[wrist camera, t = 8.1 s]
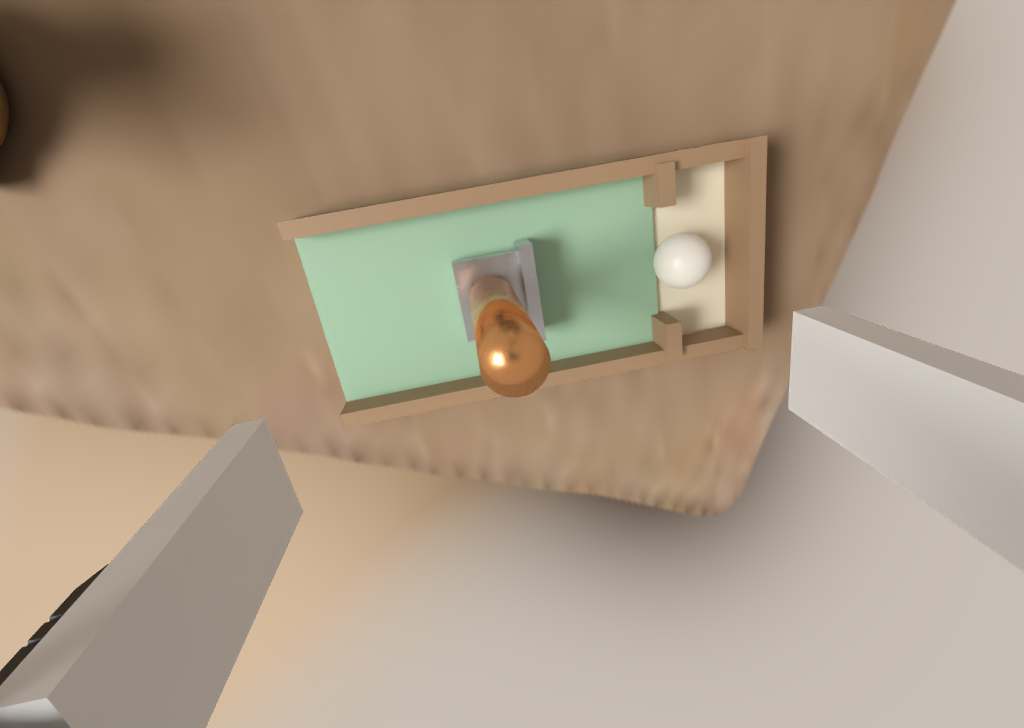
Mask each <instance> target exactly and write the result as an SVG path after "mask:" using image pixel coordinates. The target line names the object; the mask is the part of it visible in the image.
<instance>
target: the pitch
mask: <svg viewBox="0 0 1024 728" xmlns="http://www.w3.org/2000/svg"><path fill="white" fill-rule="evenodd" d="M766 178H767V135H764V136H758V137H752V138H746V139H740V140H734V141H728V142H722V143H717V144H711V145H706V146H700V147H694V148H689V149H683V150H678V151H672V152H667V153H661V154H655V155H650V156H644V157H639V158H633V159H627V160H622V161H616V162H611V163H605V164H599V165H594V166H588V167H583V168H577V169H571V170H566V171H560V172H555V173H549V174H543V175H538V176H532V177H527V178H521V179H515V180H510V181H504V182H499V183H493V184H488V185H482V186H476V187H471V188H465V189H460V190H454V191H448V192H443V193H437V194H432V195H426V196H420V197H415V198H409V199H404V200H398V201H392V202H387V203H381V204H376V205H370V206H364V207H359V208H353V209H348V210H342V211H336V212H331V213H325V214H320V215H314V216H309V217H303V218H297V219H292V220H287V221H282V222H278V223H277V225H278V228H279V231H280V234H281V237H282V240H283V241H286V240H291V239H295V242H296V246H297V249H298V252H299V255H300V258H301V261H302V264H303V267H304V271H305V274H306V277H307V280H308V283H309V286H310V289H311V292H312V295H313V299H314V302H315V305H316V308H317V311H318V314H319V317H320V320H321V323H322V327H323V330H324V333H325V336H326V339H327V342H328V345H329V348H330V352H331V355H332V358H333V361H334V364H335V367H336V370H337V373H338V376H339V380H340V383H341V386H342V389H343V392H344V395H345V398H346V401H347V402H346V404H345V406H344V408H343V410H342V412H341V414H340V416H341V419H342V422H343V425H344V428H349V427H354V426H359V425H364V424H369V423H374V422H379V421H384V420H389V419H394V418H399V417H404V416H409V415H414V414H419V413H424V412H429V411H434V410H439V409H444V408H449V407H454V406H459V405H464V404H469V403H474V402H479V401H484V400H489V399H494V398H499V397H504V396H502V395H499V394H497V393H495V392H494V391H492V390H491V389H490V388H489V387H488V386H487V385H486V384H485V382H484V381H483V379H482V376H481V373H480V369H479V362H478V355H477V348H476V341H470V342H468V339H467V334H466V329H465V324H464V319H463V315H462V310H461V305H460V300H459V296H458V291H457V286H456V281H455V277H454V272H453V267H452V261H454V260H459V259H464V258H470V257H475V256H480V255H486V254H491V253H497V252H502V251H507V250H513V249H515V247H514V241H516V240H522V239H527V240H529V241H530V242H531V243H532V246H533V253H534V260H535V267H536V273H537V280H538V287H539V294H540V301H541V307H542V314H543V321H544V328H545V334H546V341H544V343H545V344H546V346H547V348H548V350H549V353H550V357H551V367H550V371H549V374H548V376H547V378H546V380H545V381H544V383H543V384H542V385H541V386H540V387H539V388H538V389H537V390H539V389H544V388H549V387H554V386H559V385H564V384H568V383H573V382H578V381H583V380H588V379H593V378H598V377H603V376H608V375H613V374H618V373H623V372H628V371H633V370H638V369H643V368H648V367H653V366H658V365H663V364H668V363H673V362H678V361H683V360H688V359H693V358H698V357H703V356H708V355H713V354H718V353H723V352H728V351H733V350H738V349H743V348H744V349H746V350H748V351H749V350H754V349H759V348H763V310H764V266H765V222H766ZM677 233H692V234H695V235H697V236H699V237H701V238H702V239H703V240H704V241H705V242H706V243H707V244H708V246H709V248H710V250H711V254H712V264H711V268H710V270H709V272H708V274H707V276H706V277H705V278H704V279H703V280H702V281H701V282H700V283H698V284H697V285H695V286H693V287H690V288H686V289H675V288H671V287H669V286H667V285H665V284H664V283H662V282H661V281H660V279H659V278H658V277H657V275H656V273H655V270H654V265H653V261H654V255H655V252H656V250H657V248H658V247H659V245H660V244H661V243H662V242H663V241H664V240H665V239H666V238H668V237H670V236H672V235H674V234H677Z"/></svg>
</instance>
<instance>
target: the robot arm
mask: <svg viewBox="0 0 1024 728" xmlns="http://www.w3.org/2000/svg"><path fill="white" fill-rule="evenodd" d="M788 409H789V410H791V411H792V412H794V413H795V414H797V415H798V416H799V417H801V418H803V419H804V420H805V421H807V422H808V423H810V424H811V425H812V426H814V427H815V428H817V429H818V430H820V431H821V432H822V433H824V434H825V435H827V436H828V437H830V438H831V439H832V440H834V441H835V442H837V443H838V444H840V445H841V446H843V447H844V448H845V449H847V450H848V451H850V452H851V453H853V454H854V455H856V456H857V457H858V458H860V459H861V460H863V461H864V462H866V463H867V464H869V465H870V466H872V467H873V468H874V469H876V470H877V471H879V472H880V473H881V474H883V475H885V476H886V477H887V478H889V479H890V480H892V481H893V482H894V483H896V484H897V485H899V486H900V487H902V488H903V489H905V490H906V491H907V492H909V493H910V494H912V495H913V496H915V497H916V498H917V499H919V500H920V501H922V502H923V503H925V504H926V505H928V506H929V507H930V508H932V509H933V510H935V511H936V512H938V513H939V514H941V515H942V516H944V517H945V518H946V519H948V520H949V521H951V522H952V523H953V524H955V525H956V526H958V527H959V528H961V529H962V530H964V531H965V532H966V533H968V534H969V535H971V536H972V537H974V538H975V539H976V540H978V541H979V542H981V543H982V544H984V545H985V546H986V547H988V548H989V549H991V550H992V551H994V552H995V553H997V554H998V555H999V556H1001V557H1003V558H1004V559H1005V560H1007V561H1008V562H1010V563H1011V564H1012V565H1014V566H1015V567H1017V568H1018V569H1020V570H1021V571H1022V572H1024V376H1023V375H1020V374H1017V373H1014V372H1011V371H1008V370H1006V369H1002V368H1000V367H997V366H994V365H991V364H988V363H986V362H983V361H980V360H977V359H974V358H971V357H968V356H966V355H963V354H960V353H957V352H954V351H951V350H948V349H946V348H943V347H940V346H937V345H934V344H931V343H928V342H926V341H922V340H920V339H917V338H914V337H911V336H908V335H906V334H903V333H900V332H897V331H894V330H891V329H888V328H886V327H883V326H880V325H877V324H874V323H871V322H868V321H866V320H863V319H860V318H857V317H854V316H851V315H848V314H845V313H843V312H840V311H837V310H834V309H831V308H828V307H826V306H818V307H813V308H808V309H803V310H798V311H793V326H792V346H791V366H790V386H789V406H788ZM302 513H303V510H302V507H301V505H300V503H299V500H298V498H297V495H296V493H295V491H294V488H293V486H292V483H291V481H290V478H289V476H288V474H287V471H286V469H285V467H284V464H283V462H282V459H281V457H280V454H279V452H278V449H277V447H276V445H275V442H274V440H273V437H272V435H271V433H270V430H269V428H268V425H267V423H266V420H265V419H260V420H255V421H250V422H245V423H240V424H235V425H232V426H231V427H230V428H229V429H228V431H227V432H226V433H225V434H224V435H223V436H222V437H221V438H220V440H219V441H218V442H217V443H216V444H215V445H214V446H213V448H212V449H211V450H210V451H209V452H208V453H207V454H206V455H205V457H204V458H203V459H202V460H201V461H200V462H199V463H198V464H197V466H196V467H195V468H194V469H193V470H192V471H191V472H190V473H189V475H188V476H187V477H186V478H185V479H184V480H183V481H182V482H181V484H180V485H179V486H178V487H177V488H176V489H175V490H174V491H173V492H172V493H171V495H170V496H169V497H168V498H167V499H166V500H165V501H164V503H163V504H162V505H161V506H160V507H159V508H158V509H157V511H155V513H154V514H153V515H152V516H151V517H150V518H149V519H148V521H147V522H146V523H145V524H144V525H143V526H142V527H141V528H140V529H139V531H138V532H137V533H136V534H135V535H134V536H133V537H132V538H131V540H130V541H129V542H128V543H127V544H126V545H125V546H124V547H123V549H122V550H121V551H120V552H119V553H118V554H117V555H116V557H115V558H114V559H113V560H112V561H111V562H110V563H109V564H107V565H106V566H105V567H104V568H102V569H101V570H100V571H98V572H97V573H96V574H94V575H93V576H92V577H91V578H89V579H88V580H87V581H86V582H84V583H83V584H82V585H80V586H79V587H78V588H76V589H75V590H74V591H73V592H72V593H71V594H70V596H69V597H68V598H67V599H66V600H65V601H64V602H63V603H62V604H61V605H60V607H59V608H58V609H57V610H56V611H55V612H54V613H53V614H52V615H51V617H50V621H49V622H47V623H44V624H43V625H42V626H41V627H40V628H39V630H38V631H37V632H36V633H35V634H34V635H33V636H32V637H31V638H30V639H29V641H28V646H26V647H22V648H21V649H20V650H19V651H18V652H17V654H16V655H15V656H14V657H13V658H12V659H11V660H10V661H9V662H8V663H7V664H6V665H5V667H4V668H3V669H2V670H1V671H0V728H206V726H207V724H208V722H209V719H210V717H211V715H212V713H213V711H214V708H215V706H216V704H217V702H218V699H219V697H220V695H221V693H222V691H223V688H224V686H225V684H226V682H227V679H228V677H229V675H230V673H231V671H232V668H233V666H234V664H235V662H236V659H237V657H238V655H239V653H240V650H241V648H242V646H243V644H244V642H245V639H246V637H247V635H248V633H249V630H250V628H251V626H252V624H253V621H254V619H255V617H256V615H257V613H258V610H259V608H260V606H261V604H262V601H263V599H264V597H265V595H266V593H267V590H268V588H269V586H270V584H271V581H272V579H273V577H274V575H275V573H276V570H277V568H278V566H279V564H280V562H281V559H282V557H283V555H284V553H285V550H286V548H287V546H288V544H289V541H290V539H291V537H292V535H293V533H294V530H295V528H296V526H297V524H298V522H299V519H300V517H301V515H302Z"/></svg>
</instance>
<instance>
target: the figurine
mask: <svg viewBox="0 0 1024 728" xmlns="http://www.w3.org/2000/svg"><path fill="white" fill-rule="evenodd" d="M9 118H10V114H9V105H8V99H7V95H6V92H5V89H4V87H3V84H2V82H1V80H0V146H1V144H2V143H3V142H4V139H5V137H6V134H7V132H8V126H9Z"/></svg>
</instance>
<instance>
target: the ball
mask: <svg viewBox="0 0 1024 728" xmlns="http://www.w3.org/2000/svg"><path fill="white" fill-rule="evenodd" d="M711 264H712V254H711V250H710V248H709V246H708V244H707V243H706V242H705V241H704V240H703V239H702V238H701V237H699V236H697V235H695V234H692V233H677V234H674V235H672V236H670V237H668V238H666V239H665V240H664V241H663V242H662V243H661V244H660V245H659V247H658V248H657V250H656V252H655V255H654V261H653V265H654V270H655V273H656V275H657V277H658V278H659V279H660V281H661V282H662V283H664V284H665V285H667V286H669V287H671V288H675V289H686V288H690V287H693V286H695V285H697V284H698V283H700V282H701V281H702V280H703V279H704V278H705V277H706V276H707V274H708V272H709V270H710V268H711Z"/></svg>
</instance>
